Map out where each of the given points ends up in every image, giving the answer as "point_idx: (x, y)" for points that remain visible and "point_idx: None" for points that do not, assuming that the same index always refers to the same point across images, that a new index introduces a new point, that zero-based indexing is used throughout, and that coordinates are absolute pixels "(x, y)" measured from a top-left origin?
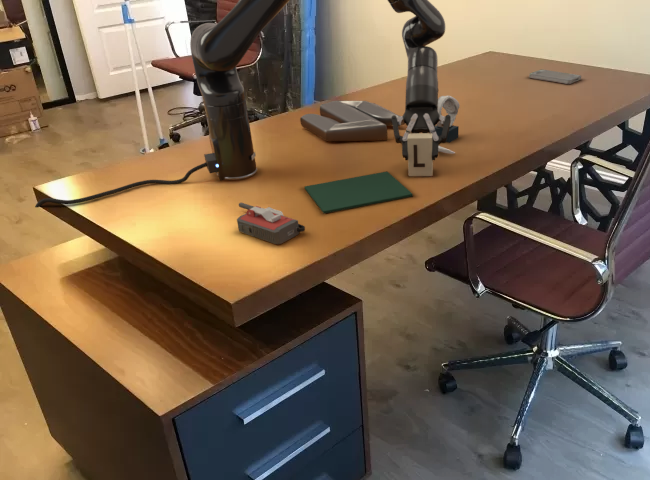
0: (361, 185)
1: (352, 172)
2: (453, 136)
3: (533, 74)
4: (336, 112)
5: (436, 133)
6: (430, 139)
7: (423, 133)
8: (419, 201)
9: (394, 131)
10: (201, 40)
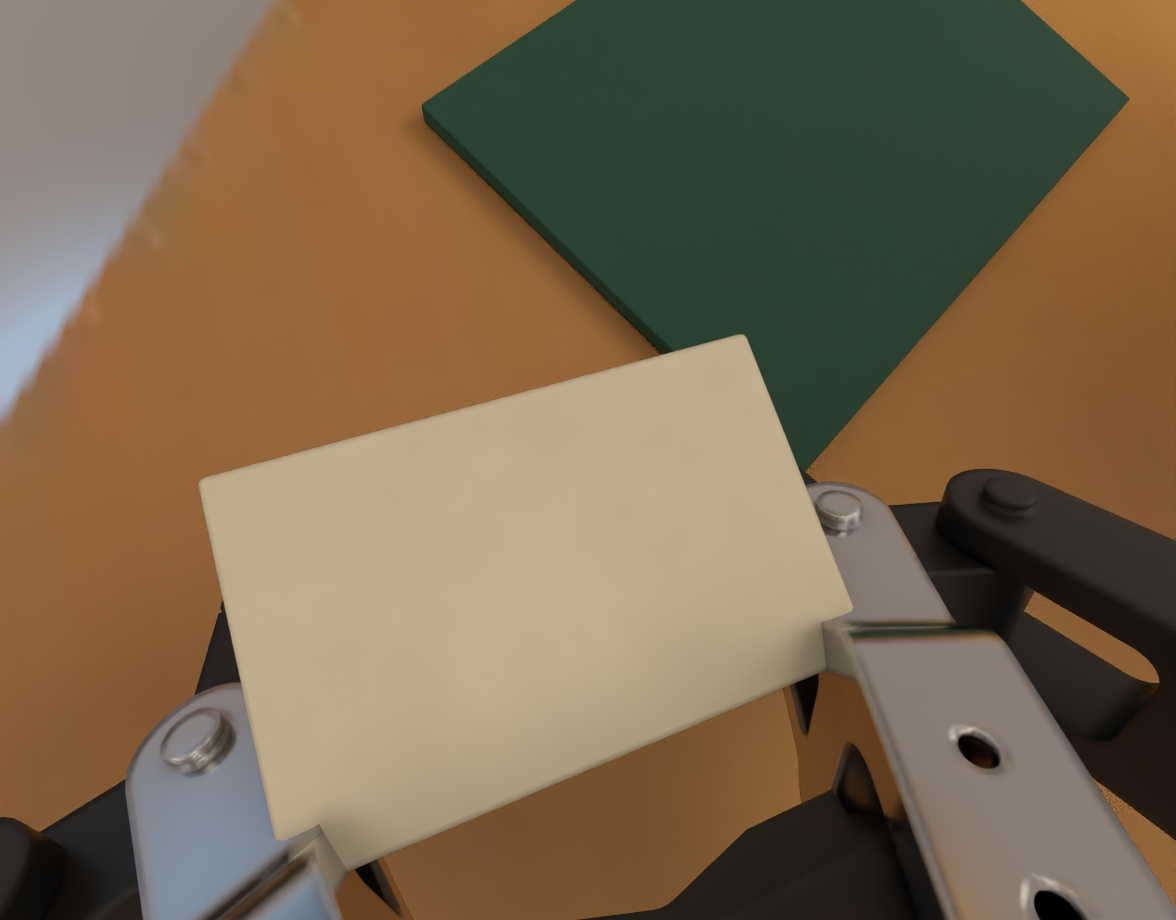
0: (834, 172)
1: (1033, 431)
2: None
3: None
4: None
5: (142, 904)
6: (250, 477)
7: (528, 768)
8: (347, 57)
9: (1166, 546)
10: None
